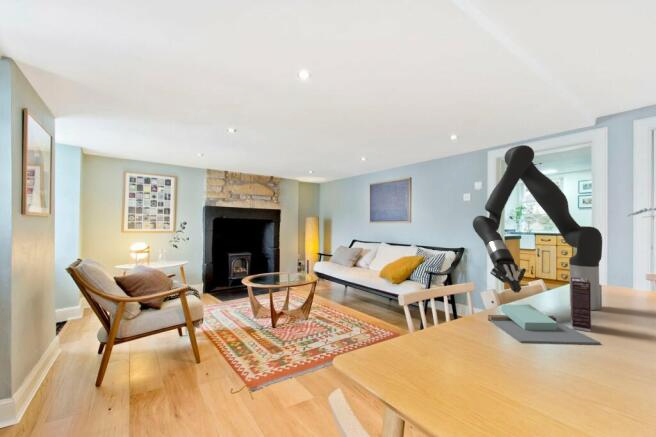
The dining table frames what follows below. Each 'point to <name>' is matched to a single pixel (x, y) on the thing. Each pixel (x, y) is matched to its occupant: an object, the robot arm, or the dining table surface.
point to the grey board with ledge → (541, 332)
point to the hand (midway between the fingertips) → (517, 291)
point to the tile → (528, 317)
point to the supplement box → (581, 304)
